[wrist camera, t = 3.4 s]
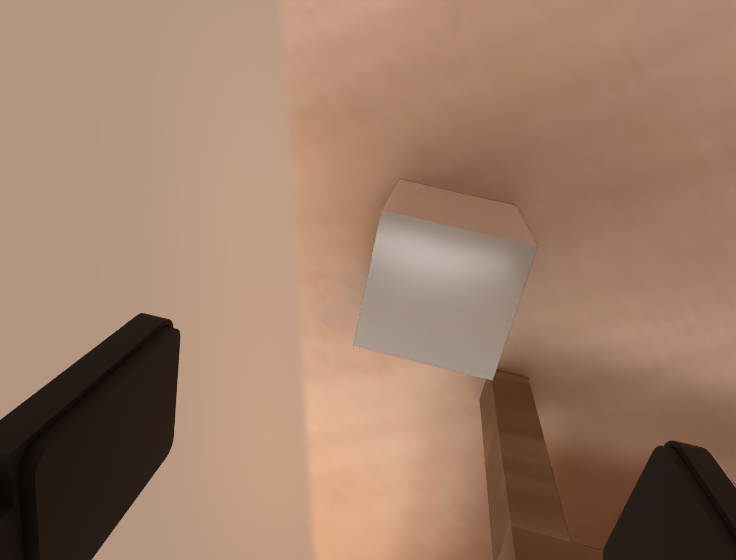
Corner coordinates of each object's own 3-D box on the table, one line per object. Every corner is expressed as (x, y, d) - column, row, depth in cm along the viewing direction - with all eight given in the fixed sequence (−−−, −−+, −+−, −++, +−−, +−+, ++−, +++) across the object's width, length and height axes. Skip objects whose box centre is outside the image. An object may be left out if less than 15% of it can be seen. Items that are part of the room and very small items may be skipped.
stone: (399, 179, 22) (381, 209, 16) (515, 205, 22) (537, 245, 16) (376, 285, 24) (353, 345, 18) (483, 311, 23) (492, 380, 18)
